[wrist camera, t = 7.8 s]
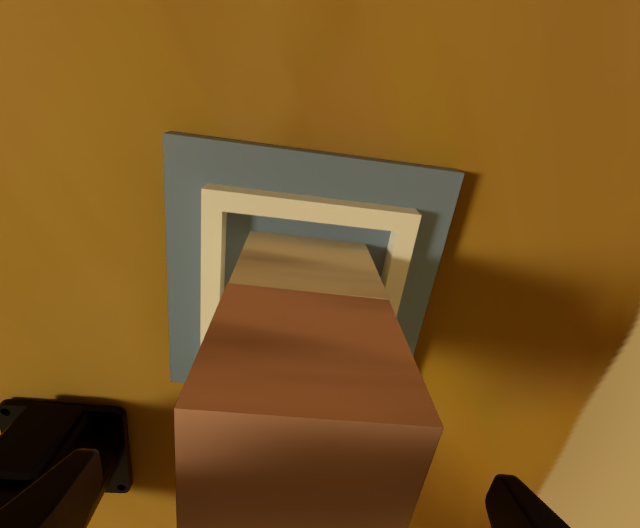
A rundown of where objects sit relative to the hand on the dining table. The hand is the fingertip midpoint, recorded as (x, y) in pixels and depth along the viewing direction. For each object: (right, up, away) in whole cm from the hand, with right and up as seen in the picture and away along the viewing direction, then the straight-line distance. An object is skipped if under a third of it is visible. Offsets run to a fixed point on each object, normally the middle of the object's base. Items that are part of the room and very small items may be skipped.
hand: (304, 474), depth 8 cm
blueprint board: (-1, +4, +9) cm, 10 cm away
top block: (0, +2, +4) cm, 4 cm away
